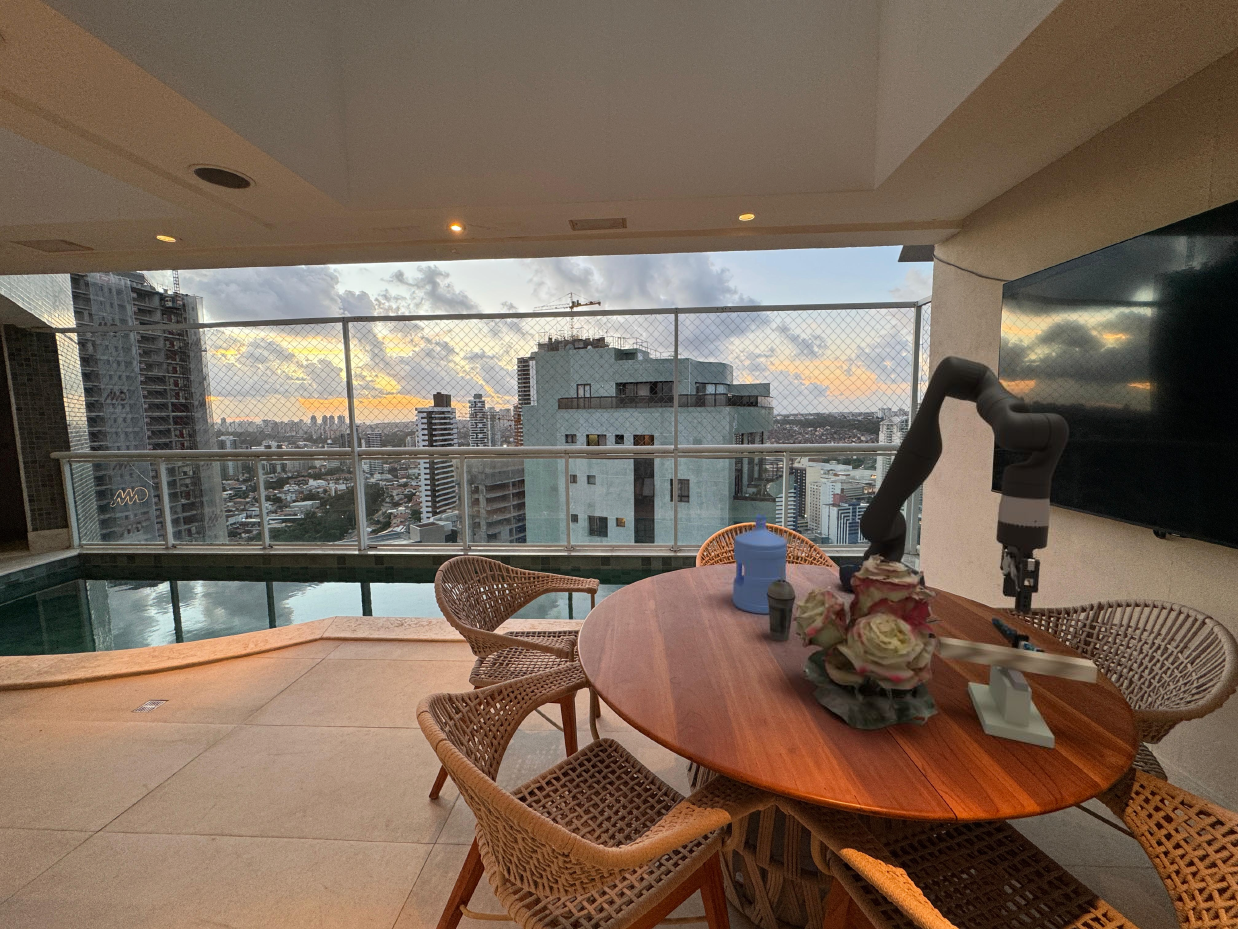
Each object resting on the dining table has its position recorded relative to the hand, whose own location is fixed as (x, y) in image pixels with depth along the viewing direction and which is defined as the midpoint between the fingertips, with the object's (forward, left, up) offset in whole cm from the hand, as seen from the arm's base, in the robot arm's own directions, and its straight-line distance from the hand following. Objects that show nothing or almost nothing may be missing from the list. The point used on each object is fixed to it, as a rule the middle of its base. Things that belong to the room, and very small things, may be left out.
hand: (1015, 603), depth 97 cm
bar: (0, 0, -13) cm, 13 cm away
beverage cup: (-45, +18, -23) cm, 54 cm away
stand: (0, 0, -23) cm, 23 cm away
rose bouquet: (-24, -4, -23) cm, 34 cm away
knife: (+10, +38, -23) cm, 46 cm away
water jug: (-54, +39, -23) cm, 71 cm away
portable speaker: (-20, +64, -23) cm, 71 cm away
